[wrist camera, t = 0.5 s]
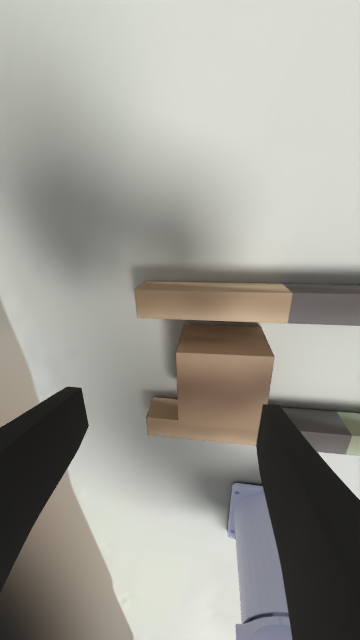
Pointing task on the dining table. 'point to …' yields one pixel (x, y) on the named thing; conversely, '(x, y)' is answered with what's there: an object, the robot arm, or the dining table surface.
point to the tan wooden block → (223, 376)
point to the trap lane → (255, 306)
